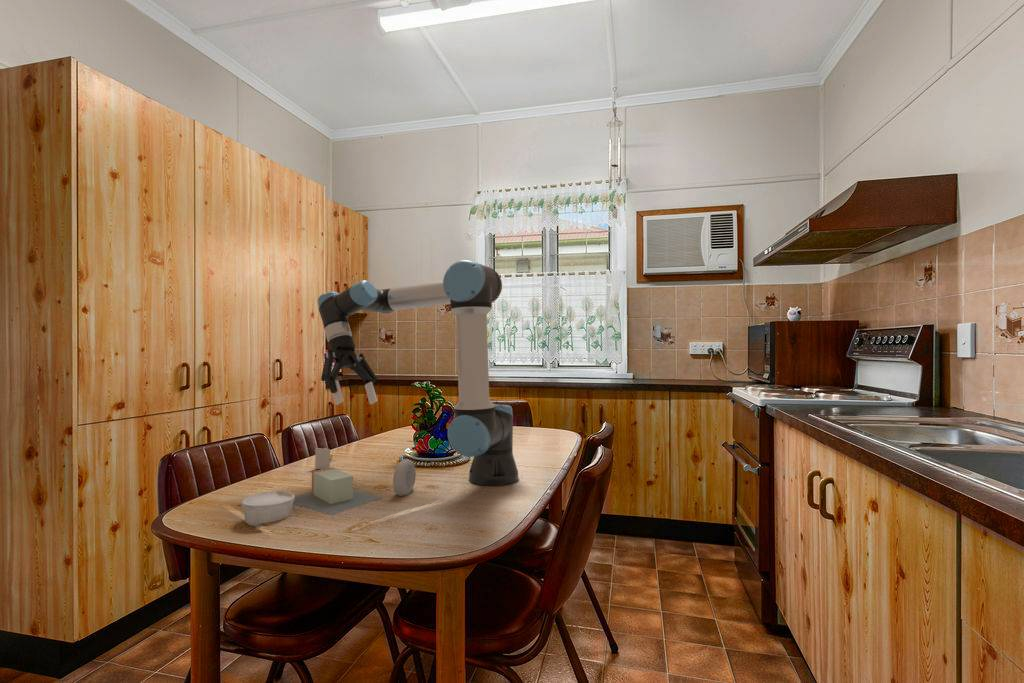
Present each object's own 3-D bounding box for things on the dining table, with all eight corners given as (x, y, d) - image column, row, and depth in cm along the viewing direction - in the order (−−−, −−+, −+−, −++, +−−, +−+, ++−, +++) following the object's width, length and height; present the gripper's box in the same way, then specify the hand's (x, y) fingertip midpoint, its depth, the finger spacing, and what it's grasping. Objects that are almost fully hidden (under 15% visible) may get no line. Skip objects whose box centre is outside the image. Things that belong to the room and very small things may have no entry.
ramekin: (304, 516, 120) (305, 494, 120) (265, 532, 110) (265, 508, 110) (272, 509, 124) (272, 488, 124) (230, 524, 114) (230, 501, 114)
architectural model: (321, 468, 167) (321, 446, 167) (339, 469, 165) (339, 447, 165) (314, 470, 164) (314, 448, 164) (332, 472, 162) (332, 449, 162)
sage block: (330, 504, 125) (311, 493, 134) (352, 498, 129) (333, 489, 138) (330, 480, 125) (311, 471, 134) (353, 475, 129) (333, 467, 138)
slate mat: (382, 500, 131) (382, 497, 131) (332, 519, 117) (332, 514, 117) (333, 488, 142) (333, 485, 142) (281, 504, 128) (281, 500, 128)
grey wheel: (402, 502, 130) (402, 464, 130) (390, 501, 130) (390, 463, 130) (417, 491, 140) (417, 455, 140) (406, 490, 140) (406, 455, 140)
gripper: (361, 348, 166) (378, 407, 160) (298, 340, 144) (314, 408, 138) (377, 338, 163) (394, 398, 157) (315, 329, 142) (332, 397, 135)
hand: (357, 403), depth 148 cm, fingers open, 13 cm apart
